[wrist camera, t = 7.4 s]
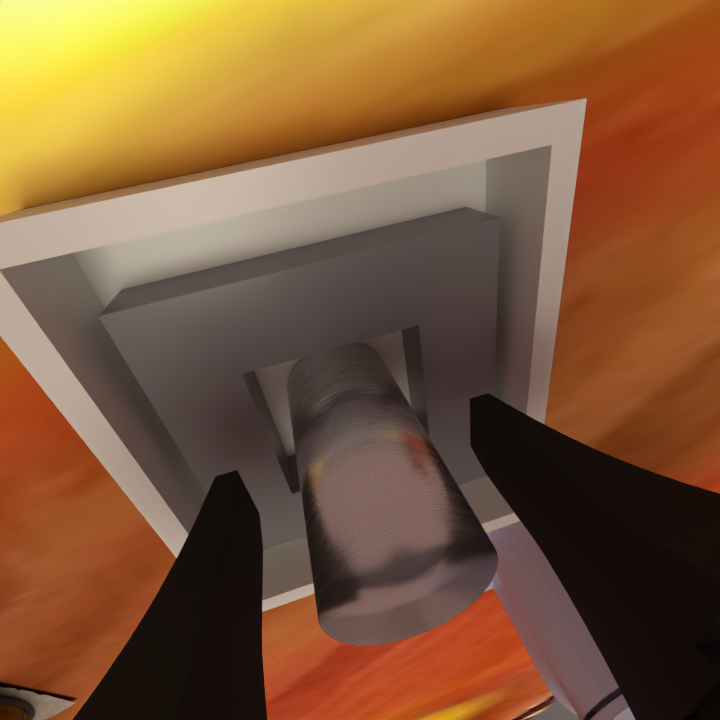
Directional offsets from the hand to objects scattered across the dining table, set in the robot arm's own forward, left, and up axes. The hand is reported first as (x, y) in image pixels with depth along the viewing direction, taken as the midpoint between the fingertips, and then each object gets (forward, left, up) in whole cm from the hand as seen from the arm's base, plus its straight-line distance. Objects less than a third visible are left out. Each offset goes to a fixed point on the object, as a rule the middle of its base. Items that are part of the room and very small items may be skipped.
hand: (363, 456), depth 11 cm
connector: (0, 0, -4) cm, 4 cm away
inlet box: (0, 0, -4) cm, 4 cm away
